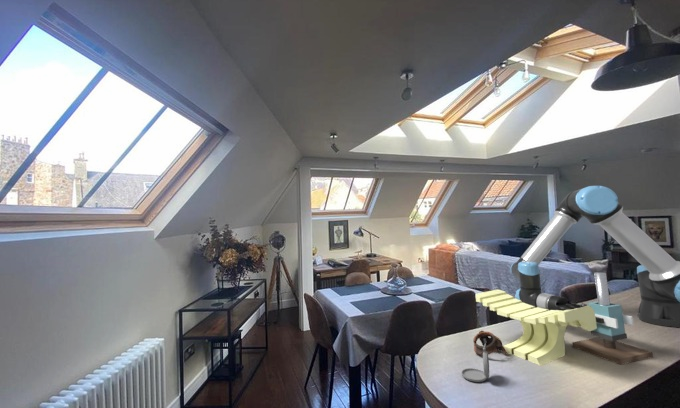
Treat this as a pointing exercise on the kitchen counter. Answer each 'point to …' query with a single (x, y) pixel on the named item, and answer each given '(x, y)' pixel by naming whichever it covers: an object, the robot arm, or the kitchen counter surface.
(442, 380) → the kitchen counter surface
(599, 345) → the pipe stand
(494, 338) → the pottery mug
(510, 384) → the kitchen counter surface
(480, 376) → the grey round-based holder
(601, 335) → the dark grey square slab
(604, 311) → the sleeve
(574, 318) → the slatted curved stool
